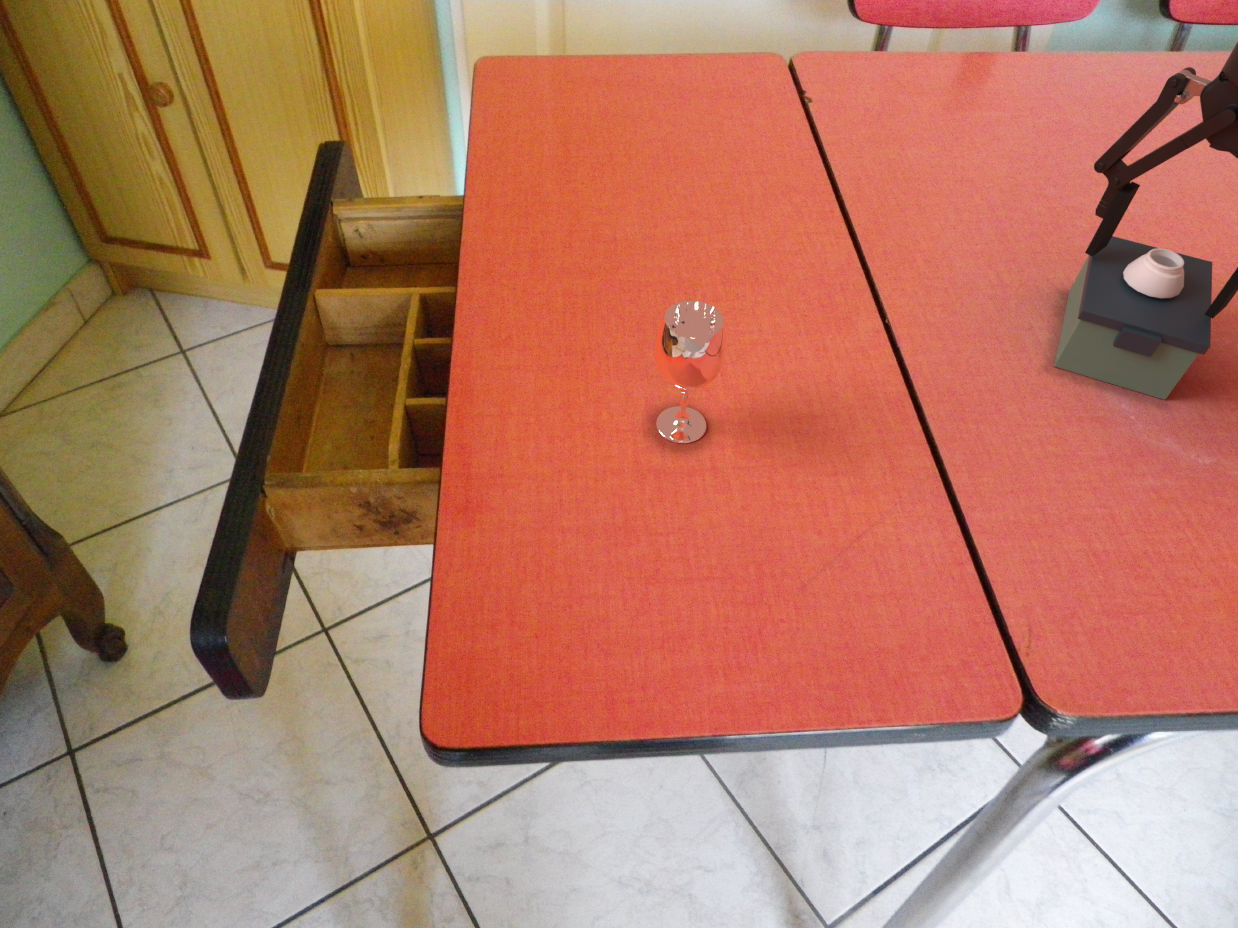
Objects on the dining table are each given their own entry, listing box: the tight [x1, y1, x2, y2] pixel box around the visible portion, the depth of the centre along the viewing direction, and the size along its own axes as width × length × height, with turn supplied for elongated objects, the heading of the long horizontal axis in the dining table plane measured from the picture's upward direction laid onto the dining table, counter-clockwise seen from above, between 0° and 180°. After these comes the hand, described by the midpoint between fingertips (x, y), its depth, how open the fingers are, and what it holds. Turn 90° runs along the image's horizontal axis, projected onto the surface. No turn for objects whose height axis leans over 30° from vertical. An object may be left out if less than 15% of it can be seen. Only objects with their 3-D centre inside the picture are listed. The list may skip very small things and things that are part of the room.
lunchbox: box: [1053, 235, 1213, 401], centre depth 81 cm, size 15×11×7 cm
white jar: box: [1123, 247, 1184, 298], centre depth 78 cm, size 5×3×5 cm
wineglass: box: [654, 300, 727, 444], centre depth 71 cm, size 6×6×12 cm
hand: (1153, 279), depth 78 cm, fingers open, 11 cm apart
